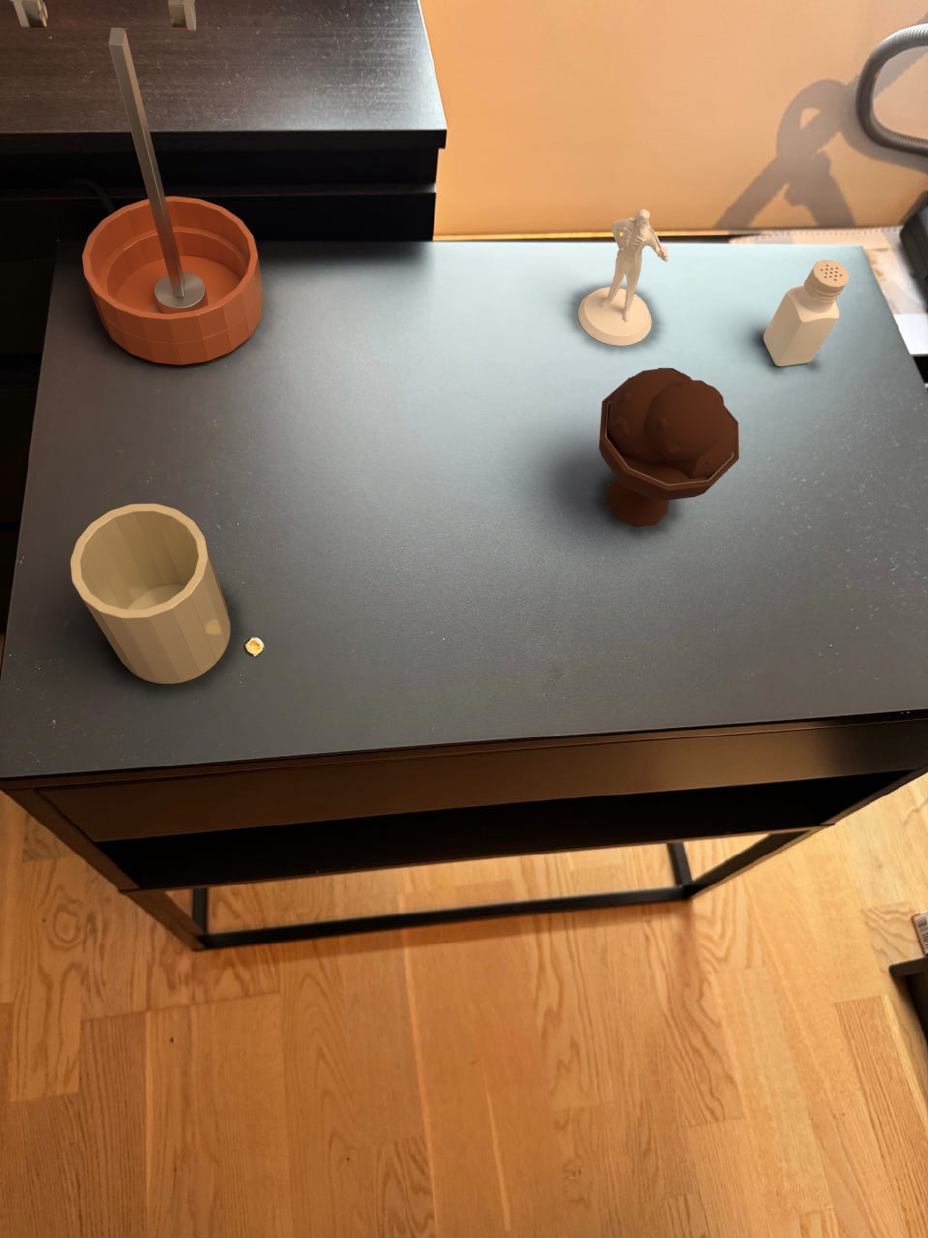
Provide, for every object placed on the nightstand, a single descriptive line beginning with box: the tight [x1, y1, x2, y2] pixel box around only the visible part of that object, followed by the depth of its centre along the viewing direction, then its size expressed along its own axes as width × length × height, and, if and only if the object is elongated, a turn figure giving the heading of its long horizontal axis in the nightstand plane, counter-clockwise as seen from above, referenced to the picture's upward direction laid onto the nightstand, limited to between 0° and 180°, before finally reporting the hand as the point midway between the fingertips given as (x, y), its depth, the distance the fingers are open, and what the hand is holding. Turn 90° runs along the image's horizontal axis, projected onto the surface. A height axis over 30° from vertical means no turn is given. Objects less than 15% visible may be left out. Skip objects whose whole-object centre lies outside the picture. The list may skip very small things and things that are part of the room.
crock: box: [69, 503, 232, 685], centre depth 63 cm, size 8×8×11 cm
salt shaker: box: [763, 259, 850, 367], centre depth 82 cm, size 4×4×10 cm
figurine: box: [577, 208, 669, 347], centre depth 81 cm, size 7×7×12 cm
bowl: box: [81, 195, 265, 366], centre depth 79 cm, size 14×14×6 cm
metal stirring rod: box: [108, 27, 208, 314], centre depth 71 cm, size 4×4×24 cm
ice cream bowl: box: [598, 367, 740, 528], centre depth 70 cm, size 11×11×15 cm
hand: (111, 23), depth 59 cm, fingers open, 8 cm apart
